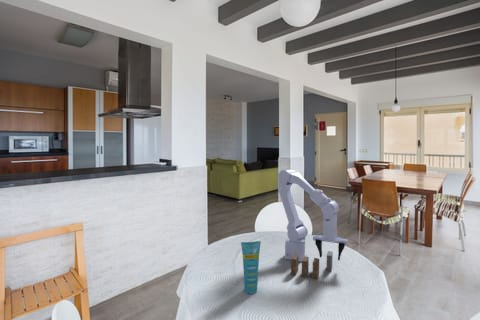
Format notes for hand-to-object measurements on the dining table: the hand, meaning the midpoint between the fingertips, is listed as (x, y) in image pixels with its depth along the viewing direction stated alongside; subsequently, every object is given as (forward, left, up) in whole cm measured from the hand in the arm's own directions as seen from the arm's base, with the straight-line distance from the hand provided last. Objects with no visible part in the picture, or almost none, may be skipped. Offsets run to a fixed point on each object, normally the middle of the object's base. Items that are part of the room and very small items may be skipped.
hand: (329, 257), depth 114 cm
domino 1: (-14, -10, -5) cm, 18 cm away
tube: (-26, -31, -5) cm, 41 cm away
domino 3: (-5, -10, -5) cm, 12 cm away
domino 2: (-9, -10, -5) cm, 14 cm away
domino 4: (0, 0, -5) cm, 5 cm away
